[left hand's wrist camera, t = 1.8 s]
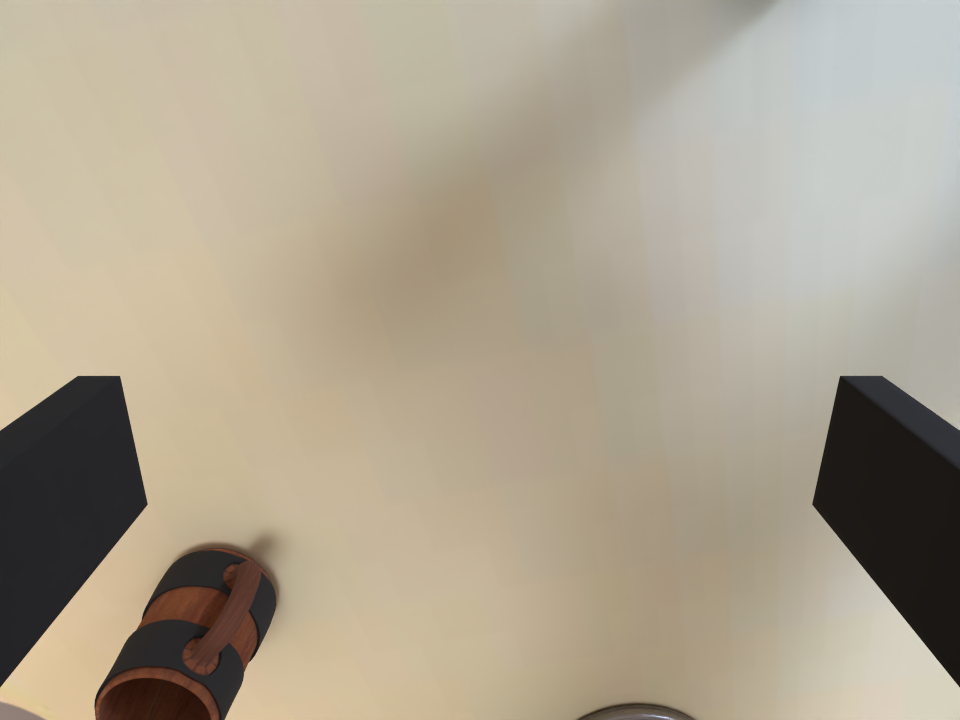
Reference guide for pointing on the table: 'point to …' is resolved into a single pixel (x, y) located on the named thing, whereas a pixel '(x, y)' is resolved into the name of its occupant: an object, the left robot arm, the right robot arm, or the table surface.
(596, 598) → the table surface
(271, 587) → the mug
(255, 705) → the table surface
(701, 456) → the table surface
